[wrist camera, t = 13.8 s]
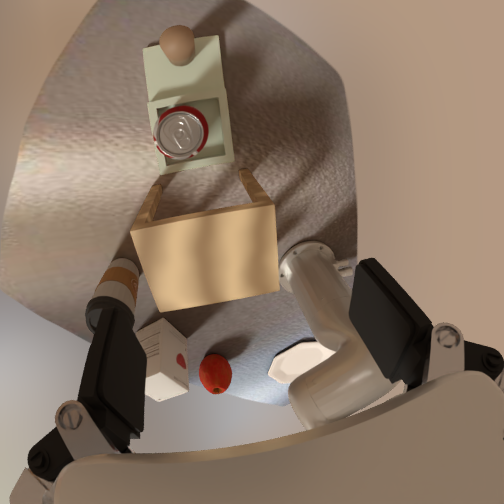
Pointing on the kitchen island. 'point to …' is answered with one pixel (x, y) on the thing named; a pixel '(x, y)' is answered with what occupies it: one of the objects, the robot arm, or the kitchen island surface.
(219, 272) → the wooden stool
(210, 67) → the tan cylinder on base
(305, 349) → the plate
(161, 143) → the soda can
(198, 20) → the kitchen island surface
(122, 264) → the coffee cup
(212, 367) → the apple
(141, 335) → the supplement box
